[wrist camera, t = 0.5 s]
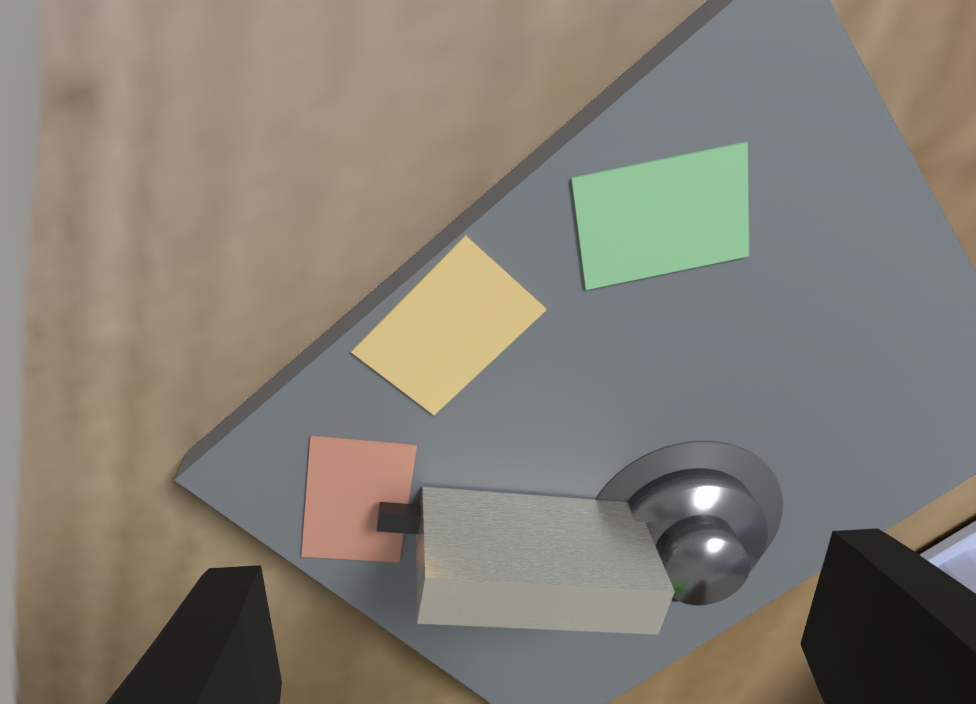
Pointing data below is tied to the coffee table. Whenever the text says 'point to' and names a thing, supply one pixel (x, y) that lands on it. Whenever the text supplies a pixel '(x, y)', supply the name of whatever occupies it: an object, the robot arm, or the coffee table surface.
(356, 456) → the tuner board
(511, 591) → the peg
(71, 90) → the coffee table surface
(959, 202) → the coffee table surface
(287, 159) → the coffee table surface
